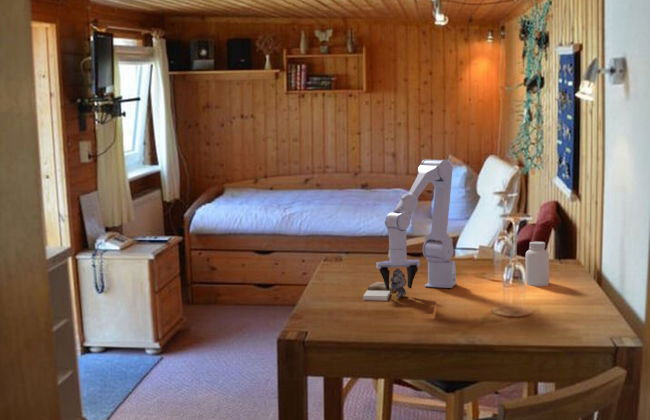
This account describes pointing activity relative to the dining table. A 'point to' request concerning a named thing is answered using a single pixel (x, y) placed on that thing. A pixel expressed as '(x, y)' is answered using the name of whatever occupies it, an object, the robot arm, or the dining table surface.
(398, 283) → the seashell
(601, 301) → the dining table surface
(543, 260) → the pill bottle
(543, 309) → the dining table surface
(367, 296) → the ceramic tile
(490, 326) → the dining table surface
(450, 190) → the robot arm
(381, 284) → the walnut base
